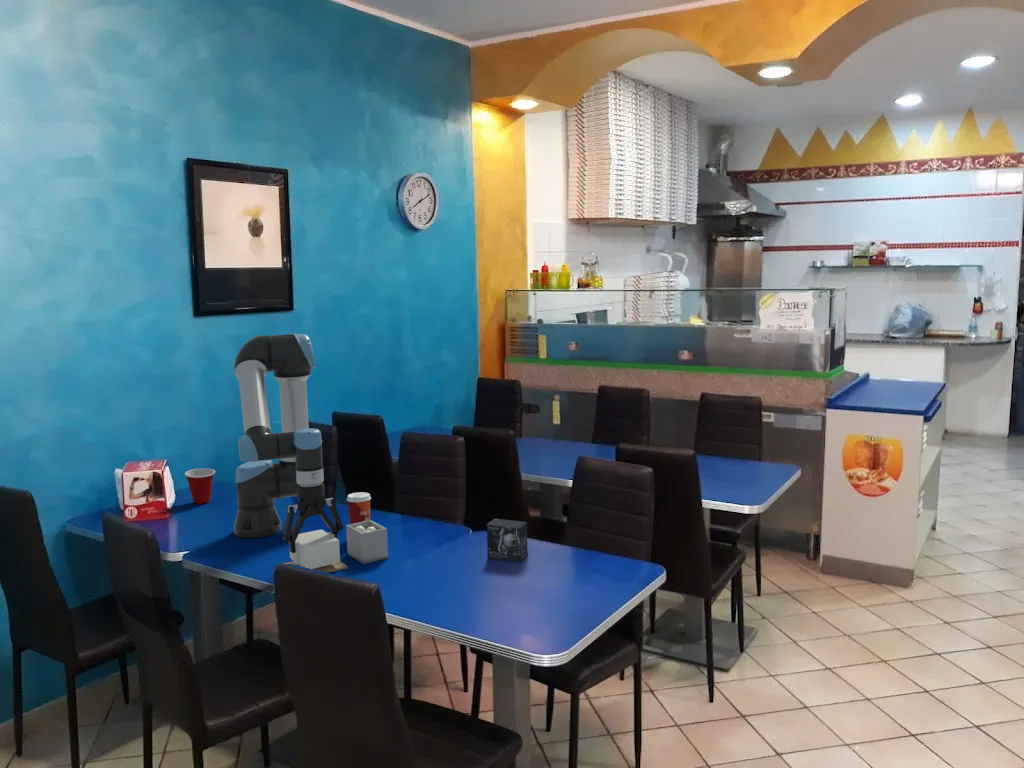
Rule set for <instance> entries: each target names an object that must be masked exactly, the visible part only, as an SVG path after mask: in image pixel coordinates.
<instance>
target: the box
mask: <svg viewBox="0 0 1024 768" xmlns="http://www.w3.org/2000/svg"><path fill="white" fill-rule="evenodd" d="M486 542H487V543H486V544H487V545H486V546H487V551H486V552H487V559H489V560H497V561H498V560H499V561H507V562H514V563H515V562H516V563H521V562H522V561H524V560H525V559H526V558H527V557H528V555H529V552H528V522H527V521H523V520H522V521H520V520H510V519H500V518H493V519H492V520H490V521H489V522H488V523H487V524H486Z"/></svg>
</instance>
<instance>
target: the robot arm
mask: <svg viewBox="0 0 1024 768" xmlns="http://www.w3.org/2000/svg"><path fill="white" fill-rule="evenodd" d="M314 354H315V353H314V349H313V346H312V341H311V339H310V337H309V336H308V335H307V334H304V333H286V334H271V335H258V336H255V337H252V338H251V339H249V340H248V341H247V342H245V343H244V344H243V345H242V346H241V348H240V349H239V351H238V353H237V354H236V356H235V360H234V364H233V365H234V367H233V368H234V376H235V377H236V378H237V380H238V384H239V395H240V403H241V413H242V423H243V433H244V434H243V435H241V436H239V437H238V443H237V444H238V453H239V456H238V457H239V460H240V461H241V462H244V463H242V464H241V465H239V466H237V468H236V470H235V481H234V482H235V484H236V499H237V514H236V517H235V521H234V525H233V534H234V536H235V537H237V538H244V539H255V538H265V537H268V536H272V535H275V534H277V533H280V532H281V530H282V526H283V525H282V520H281V518H280V516H279V513H278V510H277V508H276V504H275V503H276V502H275V499H284V498H291V497H297V502H296V504H293V505H292V504H291V505H290V504H288V505H286V513H287V514H286V518H285V519H286V520H285V523H284V528H283V533H282V537H281V539H282V540H283V541H284V542H288V545H290V548H289V553H290V552H291V553H293V557H294V563H296V564H297V565H298V564H300V562H299V545H298V541H296V539H297V537H298V534H300V532H301V530H302V527H303V525H304V524H305V521H307V519H308V518H311V517H313V516H320V518H321V519H322V521H323V522H324V524H325V525H326V527H327V528H328V529H329V531H330V532H327V533H328V534H330V535H332V536H333V537H335V538H337V539H338V534H339V532H340V531H343V529H344V527H343V523H342V521H341V517H340V515H339V511H338V510H337V509H338V508H337V501H336V499H335V498H334V497H328V498H326V497H325V495H326V494H325V484H324V483H323V482H324V479H325V478H324V477H325V476H324V465H323V464H324V463H323V445H322V444H323V439H322V433H321V430H320V429H318V428H311V427H310V428H309V410H308V409H309V407H308V389H307V380H308V378H310V376H311V375H312V374H311V373H312V372H311V370H314V369H316V363H315V362H316V359H315V355H314ZM267 372H270V373H271V372H273V377H274V378H275V379H276V380H277V381H278V384H279V399H280V401H279V402H280V403H279V404H280V417H281V418H280V419H281V420H280V421H281V432H275V433H274V432H272V428H271V421H270V413H269V404H268V397H267V390H266V389H267V388H266V380H265V377H266V376H267ZM273 460H278V462H275V463H274V462H273ZM326 505H327V506H328V509H329V512H330V514H331V518H332V520H333V522H334V524H333V522H332V521H331V520H330V518H329V516H328V515H327V512H326V511H325V510H324V508H325V507H326ZM297 510H299V513H298V515H297V519H296V521H295V523H294V519H295V515H296V514H295V513H297ZM293 523H294V525H293Z"/></svg>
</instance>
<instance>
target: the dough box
mask: <svg viewBox="0 0 1024 768" xmlns="http://www.w3.org/2000/svg"><path fill="white" fill-rule="evenodd" d="M345 526H346V527H345V528H346V529H345V530H346V531H345V532H346V548H347V555H348V556H350V557H351V558H353V559H355V560H356V561H358V562H359V563H361V564H362V565H364V564H369V563H373V562H378V561H381V560H386V559H389V549H388V547H389V546H388V542H389V541H388V529H387V527H384V526H383V525H381V524H379V523H377V522H375V521H374V520H372V519H370V520H369V521H364V522H359V523H354V524H350V523H349V524H346V525H345Z"/></svg>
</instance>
